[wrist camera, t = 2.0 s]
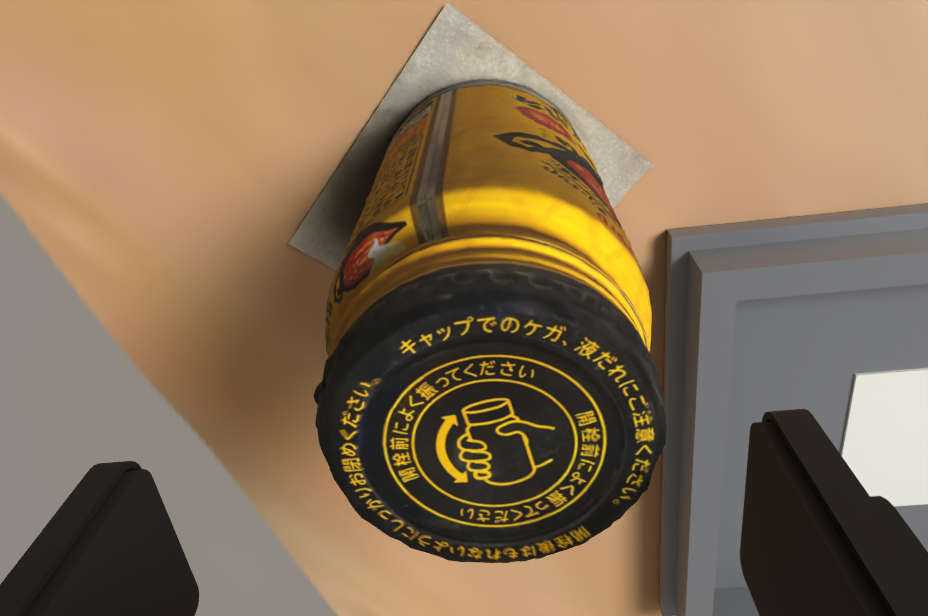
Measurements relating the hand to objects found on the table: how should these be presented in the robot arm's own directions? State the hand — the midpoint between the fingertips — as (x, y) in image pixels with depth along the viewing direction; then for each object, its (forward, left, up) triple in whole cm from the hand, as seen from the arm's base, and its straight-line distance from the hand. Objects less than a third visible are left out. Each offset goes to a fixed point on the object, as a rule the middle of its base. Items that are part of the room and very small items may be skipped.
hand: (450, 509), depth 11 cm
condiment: (-1, 0, -12) cm, 12 cm away
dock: (+9, +14, -12) cm, 20 cm away
